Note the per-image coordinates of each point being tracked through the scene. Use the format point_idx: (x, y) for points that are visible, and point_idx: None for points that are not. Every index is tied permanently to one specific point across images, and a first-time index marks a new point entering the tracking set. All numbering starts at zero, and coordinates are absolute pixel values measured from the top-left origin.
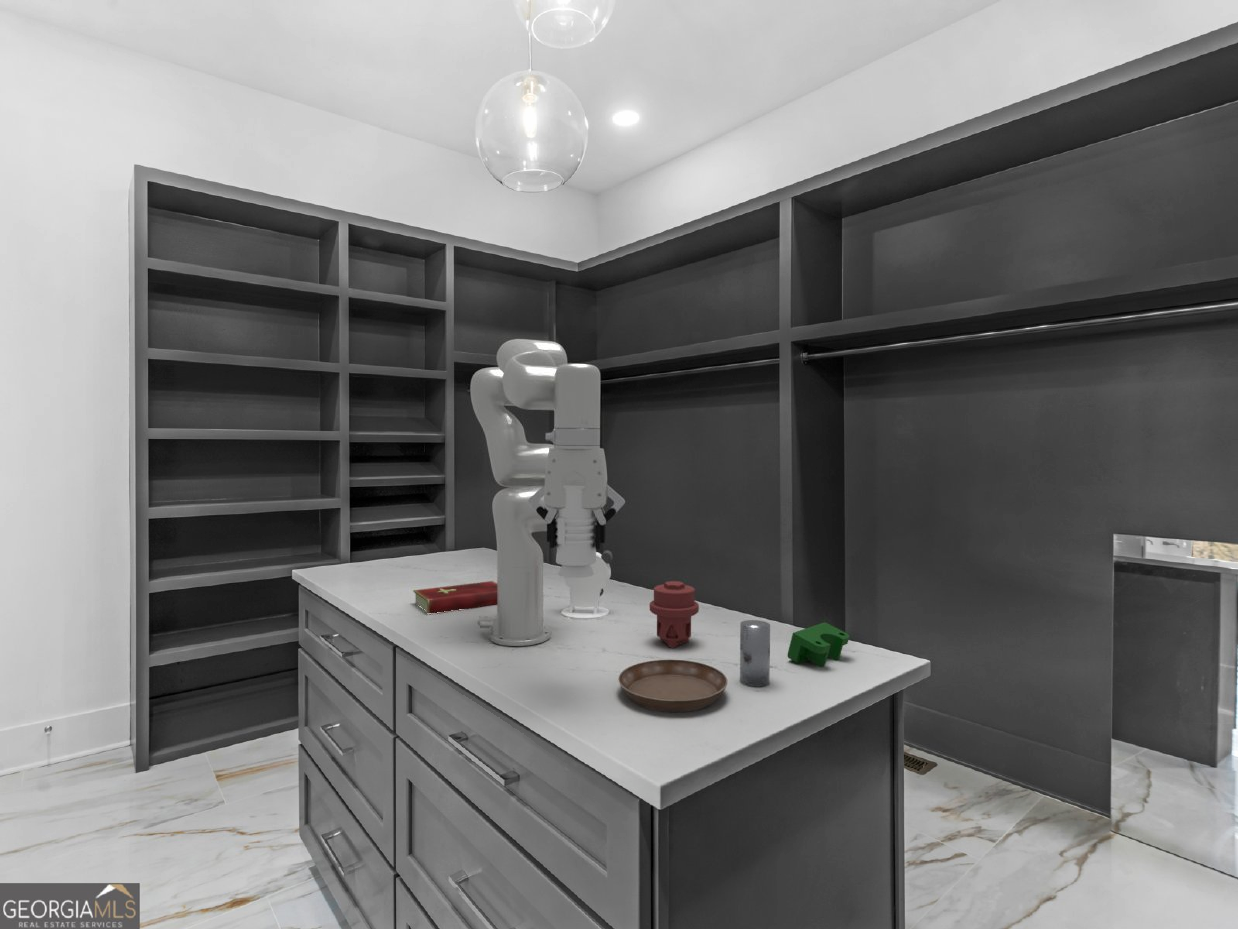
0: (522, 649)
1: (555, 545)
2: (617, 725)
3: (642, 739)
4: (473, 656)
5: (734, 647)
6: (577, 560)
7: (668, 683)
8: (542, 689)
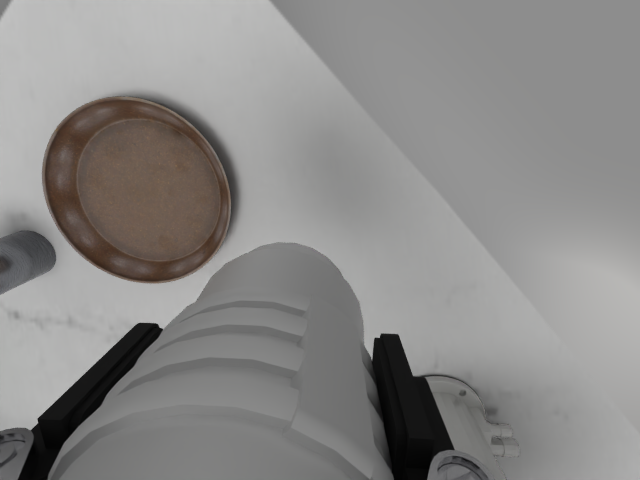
0: (419, 366)
1: (372, 362)
2: (220, 58)
3: (172, 4)
4: (498, 332)
5: None
6: (255, 259)
7: (160, 228)
8: (362, 198)
